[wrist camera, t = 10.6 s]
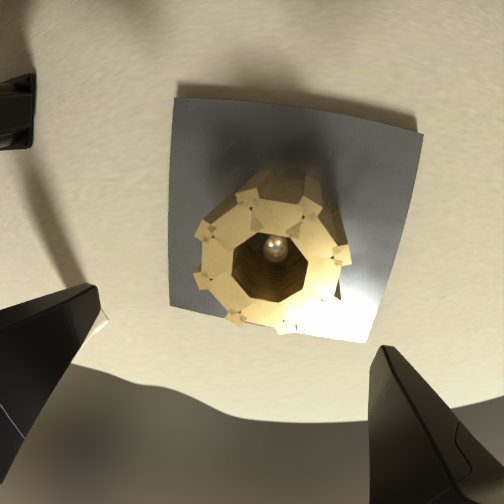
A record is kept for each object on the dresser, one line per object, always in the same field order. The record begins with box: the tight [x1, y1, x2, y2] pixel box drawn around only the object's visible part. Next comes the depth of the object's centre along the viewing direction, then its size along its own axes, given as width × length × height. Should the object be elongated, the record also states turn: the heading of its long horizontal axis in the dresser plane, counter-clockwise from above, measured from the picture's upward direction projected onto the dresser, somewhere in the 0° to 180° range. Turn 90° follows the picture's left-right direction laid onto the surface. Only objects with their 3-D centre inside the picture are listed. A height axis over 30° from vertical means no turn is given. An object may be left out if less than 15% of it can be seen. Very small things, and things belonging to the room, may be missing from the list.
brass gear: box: [193, 170, 352, 334], centre depth 16 cm, size 7×7×5 cm
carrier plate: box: [168, 98, 424, 343], centre depth 17 cm, size 14×14×4 cm
